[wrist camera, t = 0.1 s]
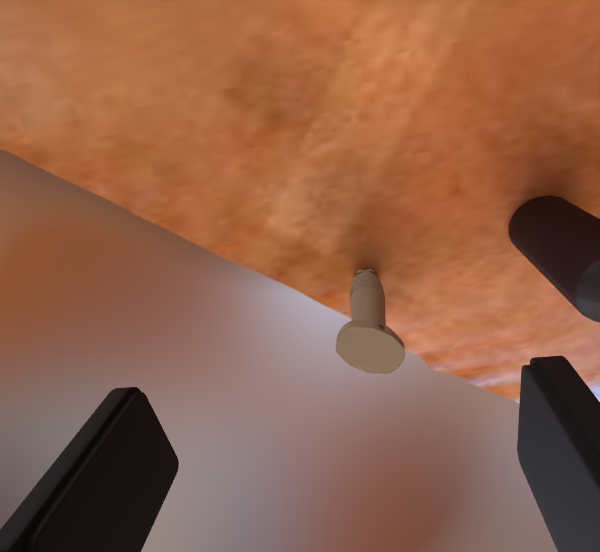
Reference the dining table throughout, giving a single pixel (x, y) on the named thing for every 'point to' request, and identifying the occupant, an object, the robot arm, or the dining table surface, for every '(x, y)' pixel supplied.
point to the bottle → (562, 248)
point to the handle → (369, 329)
